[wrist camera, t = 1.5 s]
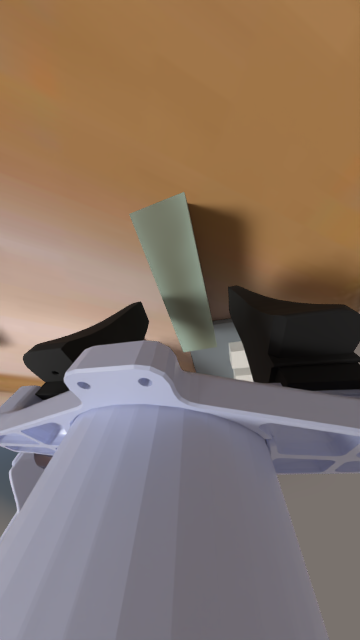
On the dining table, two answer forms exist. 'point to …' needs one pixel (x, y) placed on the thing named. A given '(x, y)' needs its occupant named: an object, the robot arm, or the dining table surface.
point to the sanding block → (177, 269)
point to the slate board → (217, 351)
